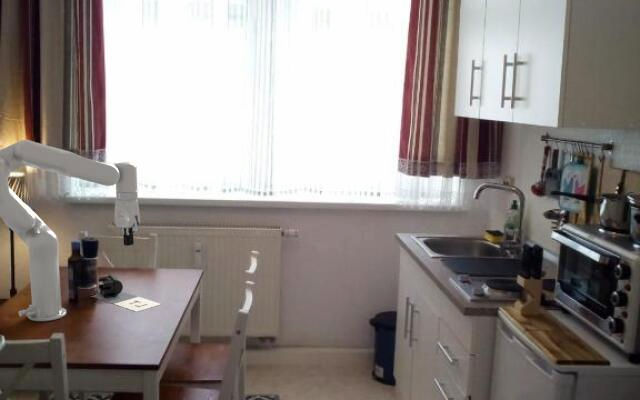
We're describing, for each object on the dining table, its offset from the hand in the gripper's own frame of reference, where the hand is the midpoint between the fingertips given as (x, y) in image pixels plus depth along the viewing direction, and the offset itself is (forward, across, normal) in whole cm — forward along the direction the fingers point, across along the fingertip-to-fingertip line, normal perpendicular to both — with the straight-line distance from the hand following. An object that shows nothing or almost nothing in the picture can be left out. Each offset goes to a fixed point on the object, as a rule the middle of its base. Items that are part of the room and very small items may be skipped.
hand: (128, 244), depth 248 cm
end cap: (+22, -14, +1) cm, 27 cm away
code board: (+22, +4, 0) cm, 23 cm away
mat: (+22, -11, 0) cm, 25 cm away
